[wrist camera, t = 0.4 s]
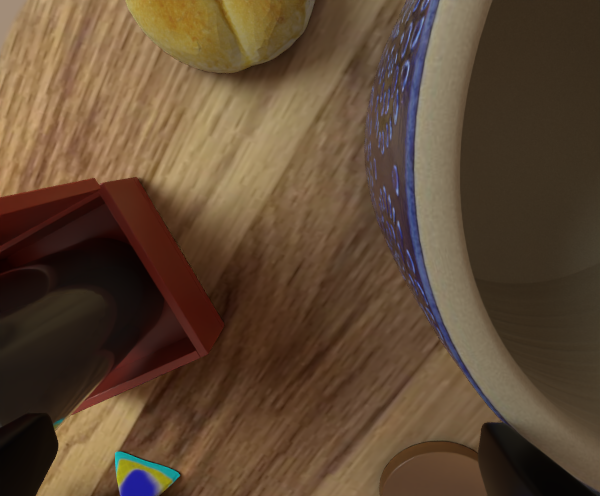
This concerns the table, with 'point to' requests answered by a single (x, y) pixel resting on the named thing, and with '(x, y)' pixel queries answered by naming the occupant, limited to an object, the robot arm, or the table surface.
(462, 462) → the round brown coaster
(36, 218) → the red box lid
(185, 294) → the open red box
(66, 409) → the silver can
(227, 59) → the bread roll
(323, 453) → the table surface
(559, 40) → the planter
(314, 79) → the table surface
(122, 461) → the decorative fish
